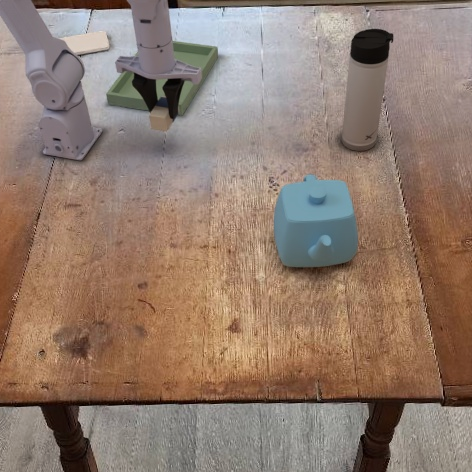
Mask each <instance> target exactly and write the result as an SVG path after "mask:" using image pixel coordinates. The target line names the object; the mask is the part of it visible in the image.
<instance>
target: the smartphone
mask: <svg viewBox="0 0 472 472" xmlns="http://www.w3.org/2000/svg"><path fill="white" fill-rule="evenodd" d="M57 38H58V39H61V40H64V41H65V42H66V44H67V46H68V47H69V48H70V49H71V50H72V51H73V52H74V53H75V54H76V55H78V56H79V55H85V54H90V53H96V52H101V51H106V50H109V49H110V42H109V38H108V34H107V32H106V30H98V31H92V32H86V33H82V34H76V35H70V36H69V35H68V36H64V37H57Z"/></svg>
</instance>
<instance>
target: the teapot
mask: <svg viewBox="0 0 472 472" xmlns="http://www.w3.org/2000/svg"><path fill="white" fill-rule="evenodd" d="M276 199H277V200H276V203H275V207H274V211H273V212H274V213H273V235H274V241H275V245H276V250H277V253H278V257H279V259H280V261H281V263H282V264H283V265H284V266H286V267H290V268H321V267H328V266H334V265H340V264H345V263H348V262H350V261H352V260H353V258H354V257H355V256H356V254H357V251H358V246H359V233H358V223H357V218H356V212H355V209H354V204H353V200H352V197H351V193H350V191H349V188H348V185H347V183H346V181H343V180H339V179H318V177H317V175H315V174H310V173H309V174H306V175H304V177H303V181H298V182H291V183H288V184H287V183H286V184H284V185H283V186H282V187H281V189H280V191H279V194H278V196H277V198H276Z"/></svg>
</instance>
